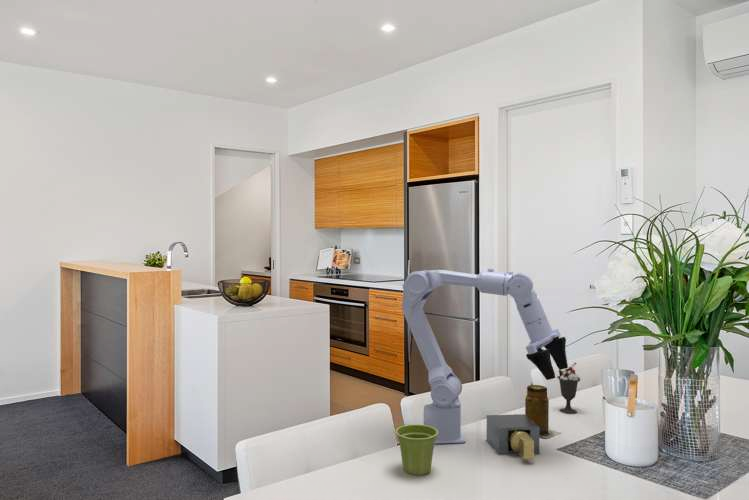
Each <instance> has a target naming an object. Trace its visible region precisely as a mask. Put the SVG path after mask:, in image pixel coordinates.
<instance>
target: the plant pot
mask: <svg viewBox="0 0 749 500" xmlns="http://www.w3.org/2000/svg"><path fill="white" fill-rule="evenodd" d="M395 435H396V436H397V439H398V442H399V447H400V455H401V462H402V469H403V471H404V472H405V473H406V474H408V475H411V474H414V475H416V476H422V475H423V476H424V475H426V474H428V473H430V471H431V469H432V463H433V454H434V447H435V444H434V442H435V440H436V436H437V435H438V431H437V429H435V428H433V427H430V426H427V425H424V424H407V425H406V424H405V425H402V426H399V427H397V428H396V429H395Z"/></svg>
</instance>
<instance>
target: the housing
mask: <svg viewBox="0 0 749 500" xmlns="http://www.w3.org/2000/svg"><path fill="white" fill-rule="evenodd" d="M508 430H522V431H524V432H526V433H528V434H529V435H530V436H531V438H532V440H533V441H534V455H538V454H540V438H541V437H540V427H539V426H538V425H537V424H535V423H534V422H533V421H532V420H531V419H529V418H528V417H527V416H526V415H525V414H517V413H516V414H487V415H486V441H487V443H488V444H489V445H490V446H491V448H492V449H493V450H494V451H495V452H496V453H497V454H498V456H505V455H506V456H507V455H511V456H512V455H519V454H518V453H516V452H515V451H514V450H513V449H512V448H511V445H510V444H509V442H508Z"/></svg>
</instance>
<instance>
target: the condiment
mask: <svg viewBox="0 0 749 500" xmlns="http://www.w3.org/2000/svg"><path fill="white" fill-rule="evenodd" d="M524 401H525V404H524V406H525V407H524V411H525V412H524V413H525V415H526V416H527V417H528V418H529V419H531V420H532V421H533V422H534V423H535V424H537V425H538V426H539V427H540V438H543V439H549V438H551V437H555V436H557V435H559V434H561V432H559V431H556V430H554V429H549V426H550V425H549V422H550V421H549V419H550V417H549V412H550V411H549V406H550V405H549V403H550V402H549V401H550V400H549V397H548V387H546V386H544V385H540V384H529V385H527V387H526V396H525V399H524Z"/></svg>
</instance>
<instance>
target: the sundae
mask: <svg viewBox="0 0 749 500" xmlns="http://www.w3.org/2000/svg"><path fill="white" fill-rule="evenodd" d="M575 365H577V363H576V362H574V363H573V364H571V366H568V368H566V369H563V370H559V369H558V374H559V375H557V377H556V378H557V379H558V380H559V385H560V393H561V397H563V399H565V400H566V402H565V403H566V405H565V407H563V408H561V409H559V412H561V413H563V414H566V415H567V414H569V415H575V414H577V413H578V411H577V410H575V409H574V408H572V407H571V406H572V405H571V401H572V400H573V399H574V398H575V397H576V396H577V395H576V394H577V391H578V390H577V389H578V383H579V382H580V381H581V378H580V376H579V377H578V375H577V373H576V370H575V369H574V366H575Z"/></svg>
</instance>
